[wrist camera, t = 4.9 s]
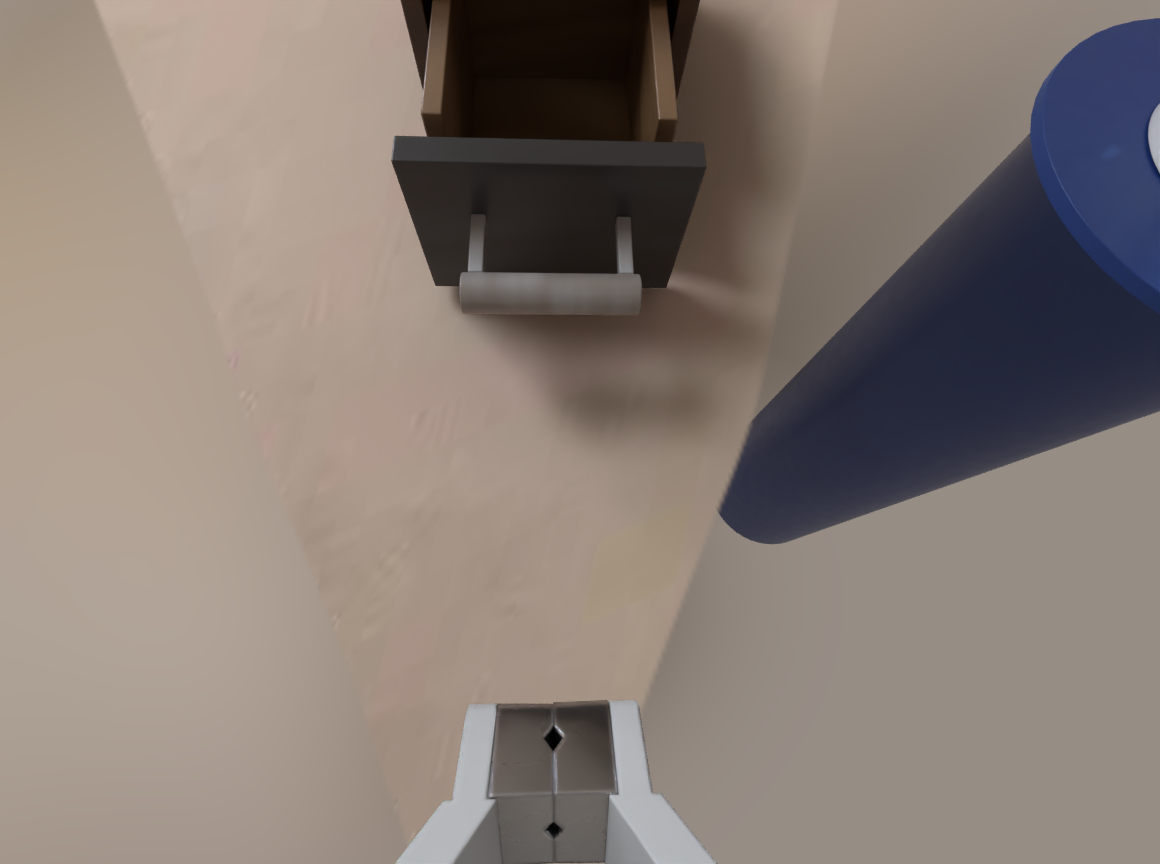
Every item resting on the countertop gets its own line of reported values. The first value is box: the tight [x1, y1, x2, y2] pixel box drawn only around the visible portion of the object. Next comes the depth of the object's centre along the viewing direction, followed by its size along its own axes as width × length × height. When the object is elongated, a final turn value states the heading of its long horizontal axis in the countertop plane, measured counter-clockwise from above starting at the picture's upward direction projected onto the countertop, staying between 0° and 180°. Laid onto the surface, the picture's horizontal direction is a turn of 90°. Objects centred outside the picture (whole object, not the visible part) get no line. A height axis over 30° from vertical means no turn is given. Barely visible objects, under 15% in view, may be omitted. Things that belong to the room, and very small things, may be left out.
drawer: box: [391, 0, 706, 315], centre depth 26 cm, size 18×12×8 cm, turn 1°
